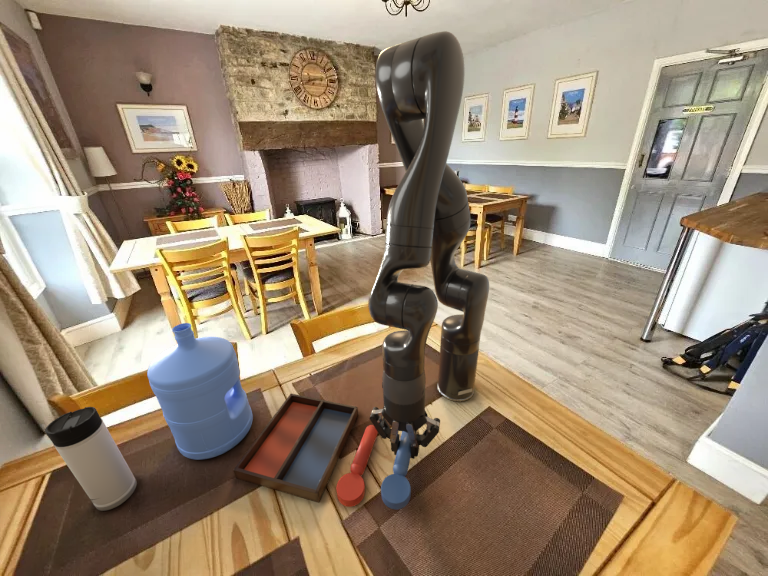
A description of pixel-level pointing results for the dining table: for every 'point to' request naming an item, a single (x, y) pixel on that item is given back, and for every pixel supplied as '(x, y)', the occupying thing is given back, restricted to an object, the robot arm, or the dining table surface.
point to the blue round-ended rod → (398, 477)
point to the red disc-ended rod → (356, 471)
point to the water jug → (201, 394)
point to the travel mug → (92, 457)
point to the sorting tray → (299, 447)
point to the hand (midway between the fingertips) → (405, 452)
